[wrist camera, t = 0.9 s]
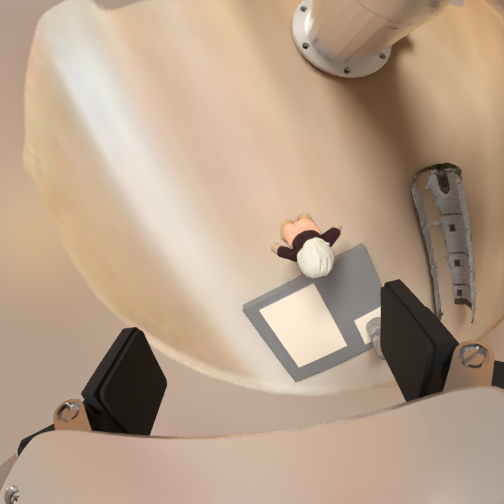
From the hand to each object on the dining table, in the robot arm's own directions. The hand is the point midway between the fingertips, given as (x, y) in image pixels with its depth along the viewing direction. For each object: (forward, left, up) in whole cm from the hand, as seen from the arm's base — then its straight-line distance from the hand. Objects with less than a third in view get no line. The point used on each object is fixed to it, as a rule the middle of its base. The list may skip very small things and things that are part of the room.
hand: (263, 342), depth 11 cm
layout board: (0, +19, -26) cm, 32 cm away
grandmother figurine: (-3, +5, -27) cm, 27 cm away
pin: (-6, +23, -25) cm, 34 cm away
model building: (-20, +18, -27) cm, 38 cm away
